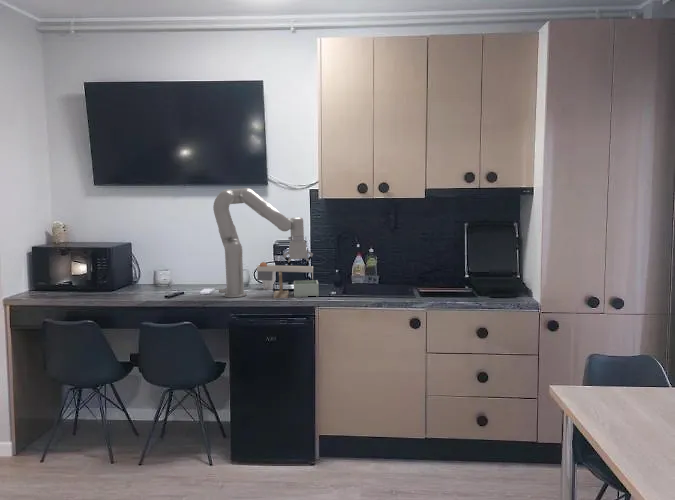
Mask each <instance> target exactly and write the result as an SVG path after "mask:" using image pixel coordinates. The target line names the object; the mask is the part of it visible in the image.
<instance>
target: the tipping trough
mask: <svg viewBox="0 0 675 500" xmlns="http://www.w3.org/2000/svg"><path fill="white" fill-rule="evenodd" d="M279 271H282V273H311V279H312V280H314V266H313V265H312V266H311V265H309V266H306V265H291V266H288V265H276V264H275V265H274V264H273V265H271V264H269V265H268V264H267V267H260V264H258V265H256V272H257V281H262V280H270V281H272V274H273V272H276V273H279Z"/></svg>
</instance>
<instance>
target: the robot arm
mask: <svg viewBox="0 0 675 500" xmlns="http://www.w3.org/2000/svg"><path fill="white" fill-rule="evenodd" d="M237 204H245V205H246V206H248V207H249V208H250V209H251V210H252V211H254V212H255V213H257V214H258V215H259V216H261V217H262V218H264V219H266V220H267V221H268V222H270V223H271V224H273V225H274V226H275V227H276V228H277V229H278V230H280V231H282V232H288V231H290V236H288V240H290V241H289V246H288V251H287V252H285V253H283V255H282V256H283V258H284V260H285V261H286V262H288V264H287V266H292V262H291V261H292V260H301V259H303V260H305V266H310V265H309V264H310V260H311V259H312V258H313V255H314V253H313V252H311V251H309V250H308V249H307V243H306V240H305V234H304V233H305V230H304V219H303V217H299V216H297V217H286V216H285V215H284V214H282V213H281V212H280V211H278V210H277V208H275V207H274V206H273V205H272V204H271V203H270V202H269V201H267V200H265V198H264V197H262V196H260V194H258V192H255V191H254V189H251V188H249V187H244V188H229V189H228V188H227V189H223V190H221V191H220V192H219V194H217V196H216V197H215V199H214V202H213V206H212V207H213V213H214V218H215V221H216V222H215V223H216V224H217V228H218V233H219V235H220V236H219V237H220V240H221V242H222V245H223V248H224V259H225V262H224V263H225V278H226V288H223V289H222V288H220V289H218V293H221V294H222V293H224V294H223V297H225V298H242V297H245V296H247V295H248V294H247V292H245V287H244V269H243V268H244V267H243V266H244V263H243V262H244V261H243V246H242V244H241V241H240V238H239V235H238V232H237V229H236V226H235V224H234V221H233V218H232V215H231V212H230V206H231V205H237ZM308 255H309V257H308ZM287 256H289V258H288V257H287Z"/></svg>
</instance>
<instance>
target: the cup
mask: <svg viewBox="0 0 675 500" xmlns="http://www.w3.org/2000/svg"><path fill="white" fill-rule="evenodd" d="M319 286H320V285H319V281H318V279H312V280H310V279H307V280H293V297H294V298H309V297H308V296H316V297H319V296H320V295H319V294H320V291H319V289H320V288H319Z"/></svg>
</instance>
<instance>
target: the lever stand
mask: <svg viewBox="0 0 675 500" xmlns="http://www.w3.org/2000/svg"><path fill="white" fill-rule="evenodd" d="M283 285H284V284H283V272H282V271H279V272H278V286H279V288H278V289H279V290H274V292H273V299H283V298H284V299H286V298H287V299H288V298H289V290H284V289H283V288H284V287H283Z"/></svg>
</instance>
